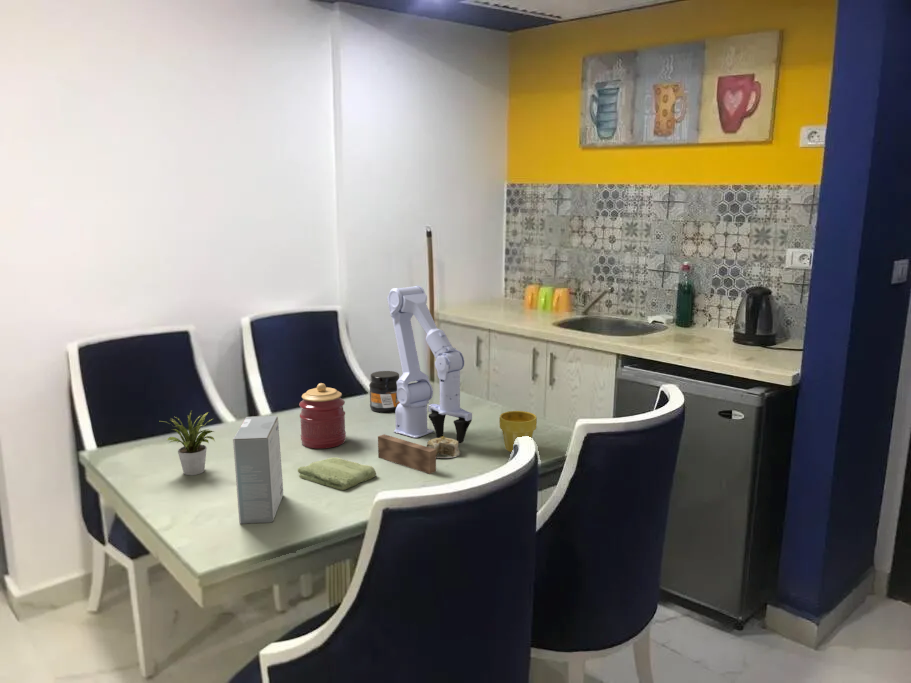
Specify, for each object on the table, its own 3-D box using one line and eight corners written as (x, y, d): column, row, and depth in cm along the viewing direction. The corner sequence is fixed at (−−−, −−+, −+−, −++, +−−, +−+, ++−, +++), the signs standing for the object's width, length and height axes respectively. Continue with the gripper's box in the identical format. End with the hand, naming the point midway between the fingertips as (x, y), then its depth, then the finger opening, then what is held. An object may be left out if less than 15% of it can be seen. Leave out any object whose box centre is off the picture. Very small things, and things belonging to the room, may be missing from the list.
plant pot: (534, 456, 201) (534, 422, 199) (496, 454, 203) (497, 420, 201) (537, 444, 211) (538, 411, 209) (502, 442, 213) (502, 409, 211)
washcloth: (331, 463, 198) (331, 451, 197) (379, 478, 187) (379, 466, 187) (293, 477, 188) (293, 466, 187) (342, 494, 177) (341, 482, 177)
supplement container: (388, 415, 239) (387, 379, 236) (363, 410, 244) (362, 375, 242) (407, 407, 247) (407, 372, 245) (383, 402, 253) (382, 368, 251)
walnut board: (378, 457, 201) (377, 436, 200) (384, 454, 202) (384, 434, 201) (429, 474, 189) (429, 451, 187) (436, 471, 190) (435, 449, 189)
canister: (315, 452, 204) (313, 391, 201) (292, 441, 214) (289, 382, 210) (354, 442, 213) (353, 383, 209) (331, 431, 222) (328, 375, 219)
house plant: (163, 487, 181) (157, 424, 177) (157, 469, 193) (151, 409, 190) (222, 477, 187) (218, 415, 184) (213, 459, 199) (209, 402, 196)
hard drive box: (251, 495, 176) (246, 416, 172) (283, 494, 176) (279, 415, 172) (238, 524, 160) (232, 437, 156) (273, 523, 161) (268, 436, 157)
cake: (421, 451, 207) (420, 432, 207) (455, 448, 210) (454, 430, 209) (430, 460, 198) (429, 441, 197) (465, 457, 201) (465, 438, 200)
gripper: (421, 392, 207) (421, 438, 210) (460, 401, 198) (460, 449, 201) (437, 387, 213) (438, 432, 215) (476, 395, 204) (476, 442, 206)
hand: (450, 439), depth 209 cm, fingers open, 7 cm apart
